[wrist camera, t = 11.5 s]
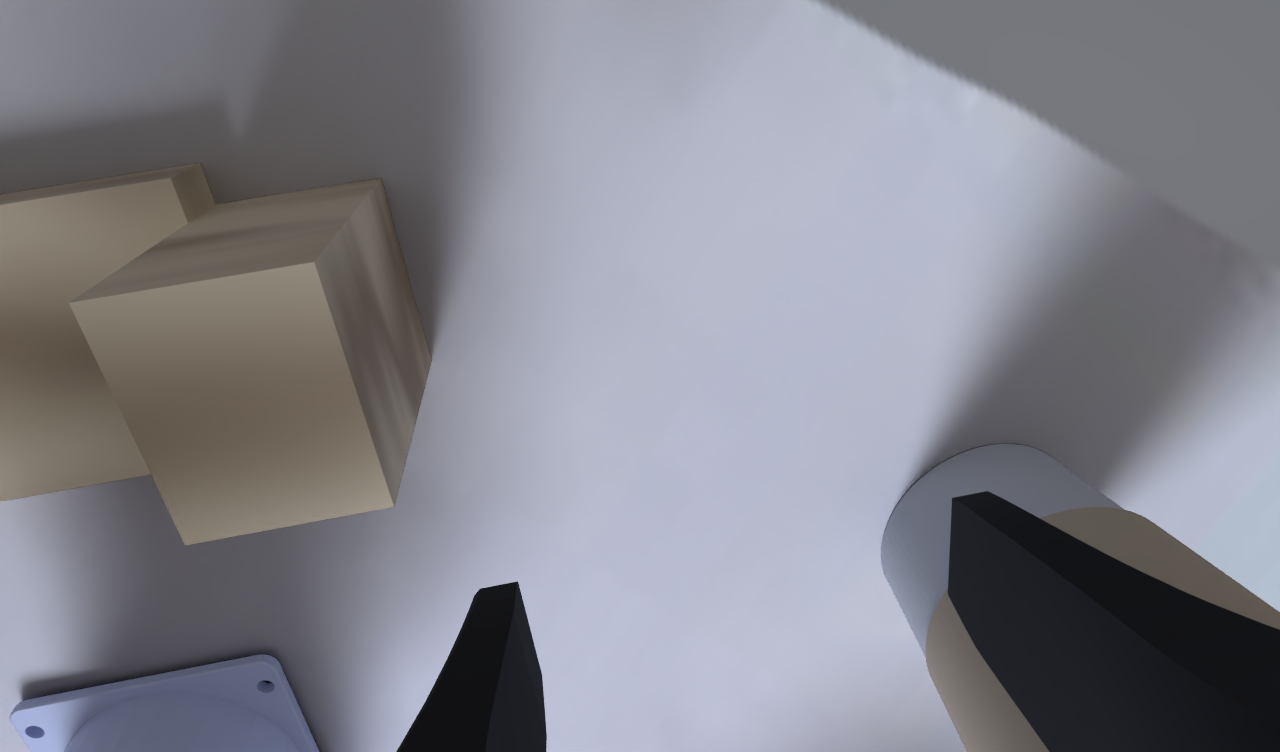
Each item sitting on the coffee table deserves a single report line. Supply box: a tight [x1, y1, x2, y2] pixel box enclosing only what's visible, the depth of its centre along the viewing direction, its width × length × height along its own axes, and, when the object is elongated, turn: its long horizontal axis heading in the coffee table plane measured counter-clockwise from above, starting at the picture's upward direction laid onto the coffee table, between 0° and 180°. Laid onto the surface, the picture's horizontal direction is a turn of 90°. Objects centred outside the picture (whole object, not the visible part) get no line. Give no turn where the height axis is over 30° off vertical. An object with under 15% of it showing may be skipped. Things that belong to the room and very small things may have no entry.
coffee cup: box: [881, 444, 1280, 752], centre depth 20 cm, size 9×9×15 cm
